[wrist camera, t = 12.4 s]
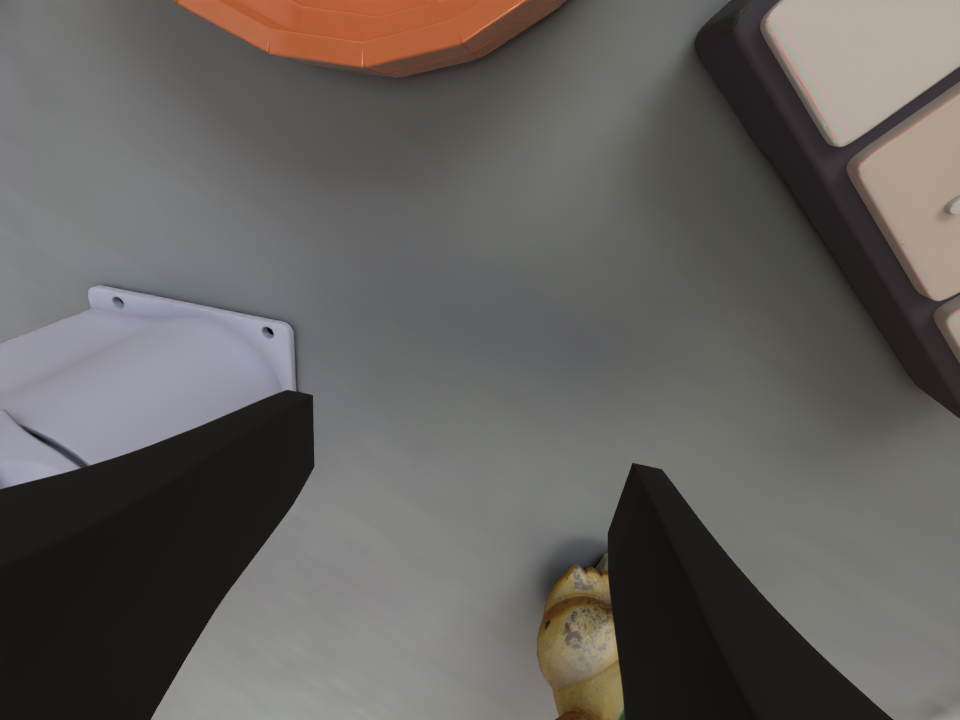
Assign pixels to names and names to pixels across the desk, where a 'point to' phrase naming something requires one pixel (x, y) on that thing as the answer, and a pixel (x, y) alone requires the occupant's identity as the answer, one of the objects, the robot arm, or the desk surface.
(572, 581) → the decorative figurine
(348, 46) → the bowl
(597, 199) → the desk surface
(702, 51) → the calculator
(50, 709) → the robot arm
